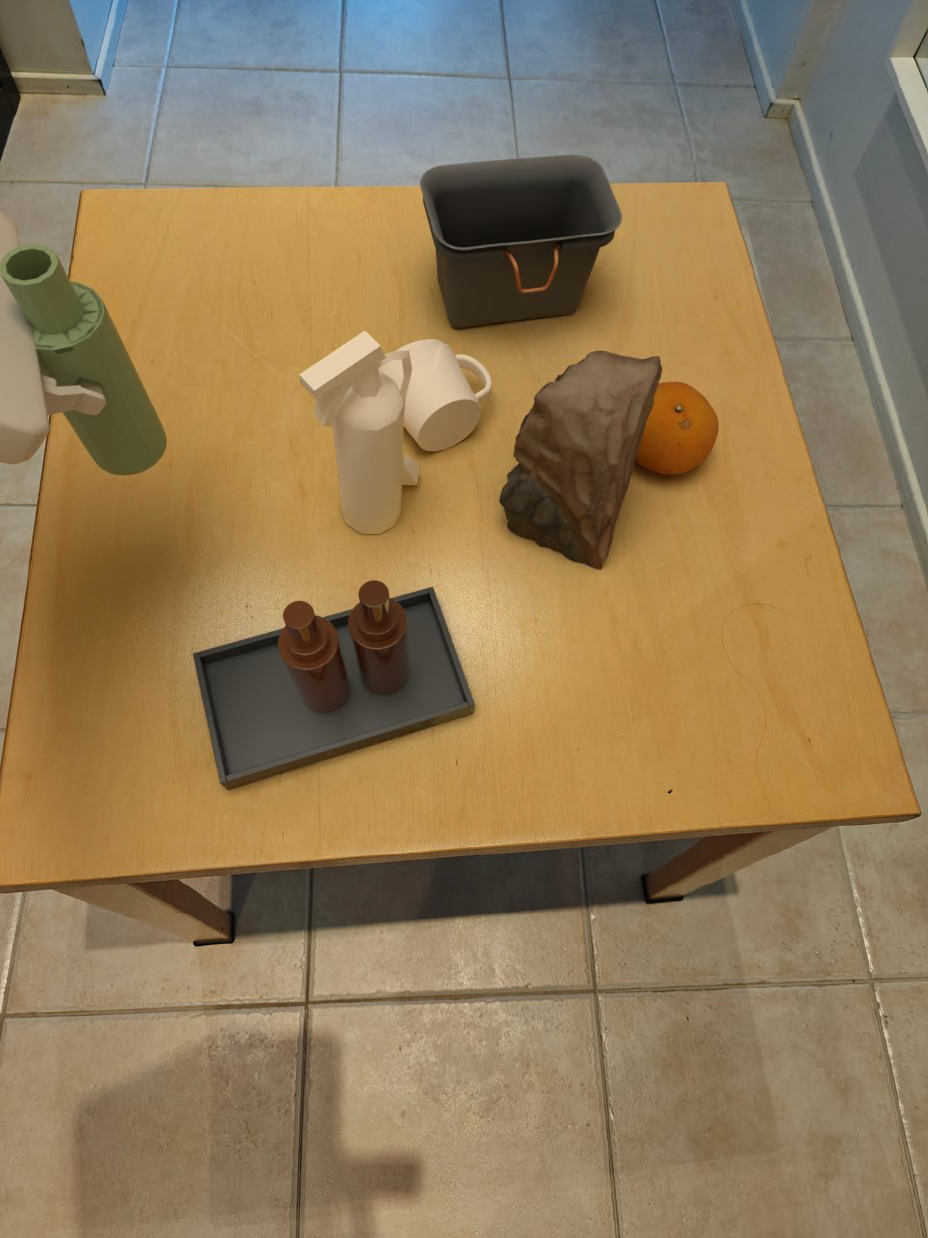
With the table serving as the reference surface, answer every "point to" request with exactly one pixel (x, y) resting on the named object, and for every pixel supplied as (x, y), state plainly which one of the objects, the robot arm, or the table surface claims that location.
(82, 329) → the green bottle
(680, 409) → the fruit
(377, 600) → the bottle row
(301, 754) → the tray
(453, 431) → the mug
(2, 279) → the robot arm
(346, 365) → the fire extinguisher
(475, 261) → the storage bin
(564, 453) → the brown rock chunk
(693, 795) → the table surface
